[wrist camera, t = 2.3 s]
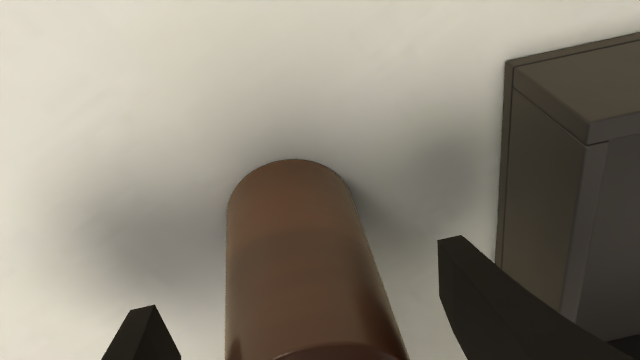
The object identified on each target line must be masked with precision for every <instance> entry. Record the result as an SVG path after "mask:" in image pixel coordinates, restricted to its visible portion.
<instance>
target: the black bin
mask: <svg viewBox="0 0 640 360" xmlns="http://www.w3.org/2000/svg"><path fill="white" fill-rule="evenodd" d="M496 265H497V266H498V267H499V268H500V269H502V270H503V271H504V272H505V273H506V274H508V275H509V276H510V277H511V278H513V279H514V280H515V281H516V282H518V283H519V284H520V285H522V286H523V287H524V288H525V289H527V290H528V291H529V292H531V293H532V294H533V295H535V296H536V297H537V298H539V299H540V300H541V301H543V302H544V303H546V304H547V305H548V306H550V307H551V308H553V309H554V310H556V311H557V312H558V313H560V314H561V315H563V316H564V317H566V318H567V319H569V320H570V321H572V322H573V323H575V324H576V325H578V326H579V327H581V328H583V329H584V330H586V331H587V332H589V333H591V334H592V335H594V336H596V337H597V338H599V339H601V340H602V341H604V342H606V343H607V344H609V345H611V346H613V347H614V348H616V349H618V350H620V351H621V352H623V353H625V354H627V355H629V356H631V357H633V358H635V359H637V360H640V33H636V34H631V35H627V36H622V37H617V38H613V39H608V40H603V41H599V42H594V43H589V44H585V45H580V46H575V47H571V48H566V49H561V50H557V51H552V52H547V53H543V54H538V55H533V56H529V57H524V58H519V59H515V60H510V61H507V62H506V67H505V87H504V107H503V127H502V147H501V168H500V188H499V208H498V228H497V248H496Z"/></svg>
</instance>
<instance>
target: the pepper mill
mask: <svg viewBox="0 0 640 360" xmlns="http://www.w3.org/2000/svg"><path fill="white" fill-rule="evenodd" d="M225 360H410V358H409V356H408V353H407V350H406V347H405V344H404V342H403V339H402V336H401V333H400V330H399V328H398V325H397V322H396V319H395V317H394V314H393V311H392V308H391V305H390V303H389V300H388V297H387V294H386V291H385V289H384V286H383V283H382V280H381V277H380V275H379V272H378V269H377V266H376V263H375V261H374V258H373V255H372V252H371V250H370V247H369V244H368V241H367V238H366V236H365V233H364V230H363V227H362V224H361V222H360V219H359V216H358V213H357V210H356V208H355V205H354V202H353V199H352V196H351V194H350V191H349V189H348V187H347V186H346V184H345V182H344V181H343V180H342V179H341V178H340V177H339V176H338V175H337V174H336V173H335V172H333V171H332V170H330V169H329V168H327V167H325V166H323V165H321V164H318V163H315V162H311V161H306V160H296V159H294V160H282V161H277V162H273V163H270V164H267V165H265V166H262V167H260V168H258V169H256V170H255V171H253V172H252V173H250V174H249V175H247V176H246V177H245V178H244V179H243V180H242V181H241V182H240V183H239V184H238V186H237V187H236V188H235V190H234V191H233V193H232V195H231V197H230V199H229V202H228V206H227V214H226V298H225Z"/></svg>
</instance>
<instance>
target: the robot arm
mask: <svg viewBox="0 0 640 360" xmlns="http://www.w3.org/2000/svg"><path fill="white" fill-rule="evenodd" d="M437 243H438V270H439V296H440V299H441V302H442V304H443V307H444V310H445V312H446V315H447V318H448V320H449V323H450V325H451V328H452V330H453V333H454V335H455V337H456V338H457V340H458V342H459V344H460V346H461V348H462V350H463V352H464V354H465V356H466V358H467V360H637V359H635V358H633V357H631V356H629V355H627V354H625V353H623V352H621V351H620V350H618V349H616V348H614V347H613V346H611V345H609V344H607V343H606V342H604V341H602V340H601V339H599V338H597V337H596V336H594V335H592V334H591V333H589V332H587V331H586V330H584V329H583V328H581V327H579V326H578V325H576V324H575V323H573V322H572V321H570V320H569V319H567V318H566V317H564V316H563V315H561V314H560V313H558V312H557V311H556V310H554V309H553V308H551V307H550V306H548V305H547V304H546V303H544V302H543V301H541V300H540V299H539V298H537V297H536V296H535V295H533V294H532V293H531V292H529V291H528V290H527V289H525V288H524V287H523V286H522V285H520V284H519V283H518V282H516V281H515V280H514V279H513V278H511V277H510V276H509V275H508V274H506V273H505V272H504V271H503V270H502V269H500V268H499V267H498V266H497V265H496V264H494V263H493V262H492V261H491V260H490V259H488V258H487V257H486V256H485V255H484V254H483V253H482V252H480V251H479V250H478V249H477V248H476V247H475V246H474V245H472V244H471V243H470V242H469V241H468V240H467V239H466V238H465V237H463V236H461V235H459V236H455V237H450V238H446V239H442V240H437ZM101 360H181V355H180V353H179V351H178V349H177V347H176V345H175V343H174V341H173V339H172V337H171V335H170V333H169V331H168V329H167V327H166V326H165V324H164V322H163V320H162V318H161V316H160V314H159V312H158V310H157V308H156V306H155V305H151V306H147V307H142V308H138V309H134V310H130V312H129V313H128V315H127V316H126V318H125V320H124V321H123V323H122V325H121V327H120V328H119V330H118V332H117V334H116V335H115V337H114V339H113V340H112V342H111V344H110V346H109V347H108V349H107V351H106V352H105V354H104V356H103V358H102V359H101Z"/></svg>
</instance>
